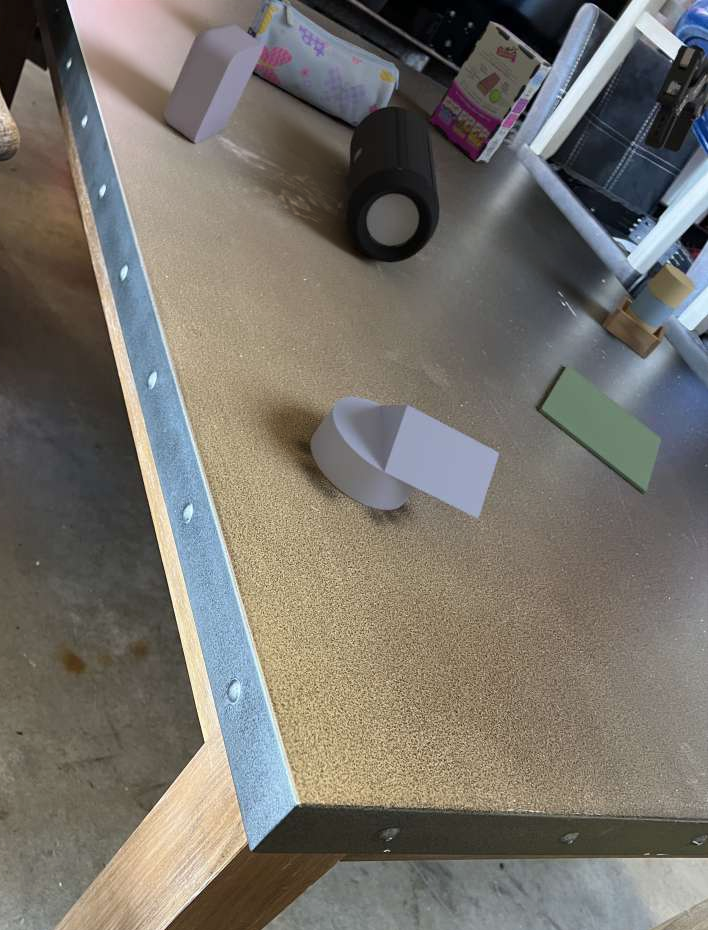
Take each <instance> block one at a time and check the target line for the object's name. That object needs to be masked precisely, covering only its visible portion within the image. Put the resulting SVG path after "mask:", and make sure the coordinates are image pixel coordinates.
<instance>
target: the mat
mask: <svg viewBox="0 0 708 930" xmlns="http://www.w3.org/2000/svg"><path fill="white" fill-rule="evenodd" d="M538 412H540V413H541V415H543V416H544V417H546V418H547V419H548V420H549V421H551V422H552V423H553V424H555V425H556V426H557V427H559V428H560V429H561V430H562V431H564V432H565V434H567V435H568V436H570V437H571V438H572V439H573V440H575V441H576V442H577V443H578V444H580V445H581V446H582V447H584V448H585V449H586V450H588V452H590V453H591V454H592V455H594V456H595V457H596V458H598V459H599V460H600V461H602V463H604V464H605V465H606V466H608V467H609V468H610V469H611V470H612V471H614V472H615V473H616V474H618V475H619V476H621V478H623V479H624V480H625V481H627V482H628V483H629V484H630V485H632V486H633V487H634V488H636V489H637V490H638V491H640V492H641V494H643V495H645V494H646V493H647V491H648V488H649V485H650V481H651V477H652V474H653V471H654V467H655V463H656V460H657V456H658V453H659V450H660V446H661V443H662V437H661V436H659V435H658V434H657V433H655V432H654V431H653V430H652V429H650V428H649V427H648V426H646V425H645V424H644V423H643V422H641V421H640V420H639V419H637V418H636V417H635V416H633V414H631V413H630V412H629V411H627V410H626V409H624V407H622V405H619V404H618V403H617V402H616V401H615V400H614V399H612V398H611V397H609V396H608V395H607V394H606V393H604V392H603V391H602V390H601V389H600V388H598V387H597V386H596V385H594V384H593V383H592V382H591V381H589V380H588V379H587V378H585V377H584V376H582V375H581V374H580V373H579V372H578V371H576V370H575V369H574V368H572V367H571V366H570V365H568V364H567V365H566V366H565V367H564V369H563V371H562V372H561V374H560V375H559V377H558V379H557V381H556V382H555V384H554V385H553V387H552V389H551V390H550V391H549V394H548V395H547V397H546V399H545V400H544V402H543V403H542V405H541V406H540V408H539V410H538Z"/></svg>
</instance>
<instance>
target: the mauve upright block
mask: <svg viewBox="0 0 708 930" xmlns="http://www.w3.org/2000/svg"><path fill="white" fill-rule="evenodd" d="M262 50H263V44H261V43H260V42H259V41H257V40H256V39H255V38H253V37H252V36H250V35H249V34H248V33H247V32H246V31H245V30H244V29H242V28H241V27H239V26H238V25H237V24H234V23H229V24H224V25H220V26H217V27H212V28H208V29H204V30H202V31H200V32H199V33H198V34H197V35H196V36H195V38H194V40H193V41H192V44H191V47H190V48H189V51H188V54H187V56H186V58H185V61H184V63H183V65H182V67H181V69H180V72H179V75H178V77H177V79H176V81H175V84H174V86H173V88H172V90H171V93H170V95H169V98H168V100H167V102H166V105H165V107H164V111H163V116H164V118H165V122H166V123H167V124H168V125H169V126H171V127H172V128H173V129H175V130H176V131H177V132H179V133H180V134H182V135H183V136H184V137H186V138H187V139H189V140H190V141H192V142H193V143H194V144H198V143H200V142H202V141H204V140H206V139H209V138H210V137H213V136H214V135H217V134H219V133H221V132H222V131H223V130H224V129H225V128H226V127H227V125H228V124H229V122H230V120H231V118H232V116H233V114H234V111H235V109H236V108H237V105H238V104H239V102H240V99H241V97H242V95H243V93H244V91H245V89H246V87H247V85H248V82H249V80H250V79H251V77H252V74H253V73H254V72H253V70H254V68H255V66H256V64H257V62H258V60H259V58H260V55H261V53H262Z"/></svg>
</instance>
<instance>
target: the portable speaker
mask: <svg viewBox="0 0 708 930" xmlns="http://www.w3.org/2000/svg"><path fill="white" fill-rule="evenodd" d="M348 169H349V170H348V185H347V186H348V187H347V202H346V204H347V206H346V213H345V220H346V221H345V222H346V223H345V225H346V228H347V232H348V234H349V236H350V238H351V241H352V242H353V244H354V245H355V246H356V247H357V248H358V251H360V252H362V254H364V255H366V256H368V257H370V258H372V259H373V260H376V261H378V262H382V263H398V262H399V263H400V262H402V261H406V260H408V259H410V258H412V257H413V256H415V255H417V254H418V253H419V252H421V250H423V249H424V248H425V247H426V246H427V244H428V243H429V242H430V240H432V238H433V236H434V234H435V232H436V230H437V227H438V224H439V220H440V199H439V191H438V184H437V183H438V182H437V177H436V167H435V161H434V152H433V143H432V138H431V134H430V131H429V129H428V126H427V125H426V123H425V122H424V120H422V118H421V117H420V116H419V115H418V114H417V113H415V112H414V111H412V110H410V109H409V108H406V107H400V106H386V107H384V108H380V109H378V110H376V111H374V112H372V113H370V114H369V115H368V116H366V117H365V118H364V119H363V120H362V121H361V122H360V124H359V125H358V126H357V127H355V130H354V132H353V133H352V136H351V139H350V145H349V168H348Z"/></svg>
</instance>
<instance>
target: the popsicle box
mask: <svg viewBox="0 0 708 930" xmlns="http://www.w3.org/2000/svg"><path fill="white" fill-rule="evenodd" d="M553 67H554V66H553V65H552V64H551V63H549V62H548V61H547V60H546V59H545V58H543V57H542V56H541V55H540V54H539V53H537V52H536V51H535V50H533V49H532V48H531V47H530V46H528V45H527V44H526V43H525V42H524V41H523V40H521V38H519V37H518V36H517V35H515V34H514V33H512V32H511V31H510V30H509V29H508V28H506V27H505V26H504V25H503V24H500V23H498V22H494V21H491V20H490V21H489V22H488V23H487V25H486V27H485V28H484V30H483V31H482V33H481V35H480V36H479V37H478V40H477V41H476V43H475V45H474V46H473V48H472V49H471V51H470V53H469V54H468V56H467V58H466V59H465V61H464V62H463V64H462V66H461V67H460V69H459V70H458V72H457V74H456V75H455V77H454V79H453V80H452V82H451V84H450V85H449V87H448V88H447V90H446V91H445V93H444V95H443V96H442V98H441V100H440V101H439V103H438V105H437V106H436V107H435V109H434V110H433V112H432V114H431V115H430V117H429V119H428V122H429V123H430V124H431V125H433V127H435V129H436V130H438V131H439V132H440V133H441V134H443V136H445V137H446V138H447V139H448V140H449V141H450V142H451V143H453V144H454V145H455V146H456V147H457V148H458V149H459V150H460V151H462V152H463V153H464V154H465V155H466V156H467V157H468V158H470V159H471V160H472V161H473V162H475V163H480V164H488V163H489V162H490V160H491V159H492V158H493V156H494V155H495V153H496V152H497V150H498V149H499V147H500V146H501V145H502V143H503V141H505V139H506V137H507V135H508V134H509V133H510V131H511V130H512V128H513V127H514V126H515V124H516V123H517V121H518V120H519V118H520V116H521V115H522V113H523V112H524V111H525V110H526V108H527V106H528V105H529V104H530V102H531V100H532V99H533V98H534V96H535V94H537V91H538V90H539V89H540V87H541V85H542V84H543V83H544V81H545V80H546V78H547V77H548V75H549V74H550V73H551V71H552V69H553Z"/></svg>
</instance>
